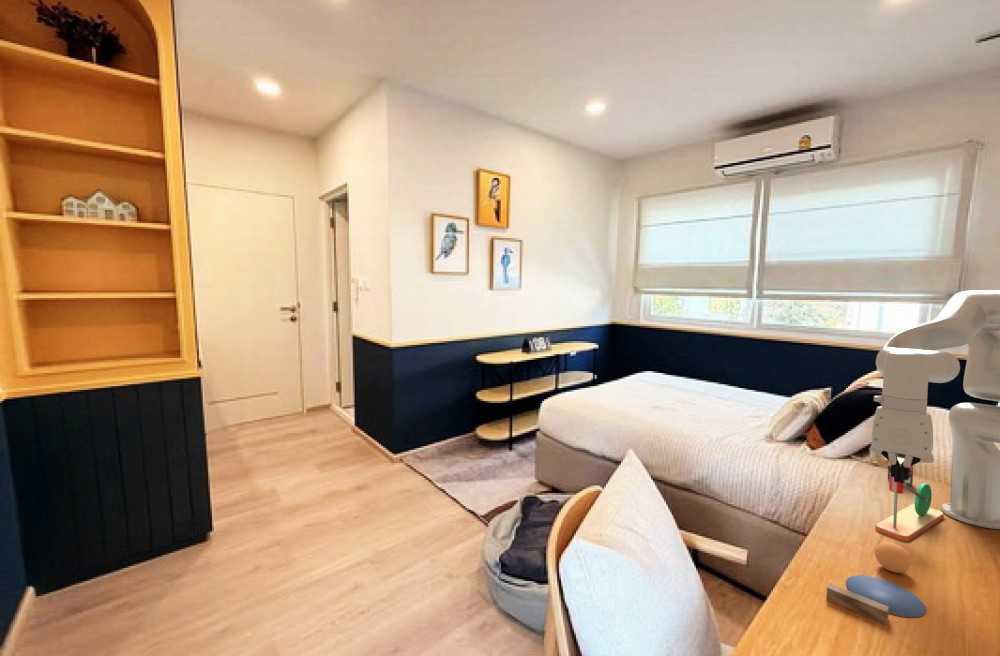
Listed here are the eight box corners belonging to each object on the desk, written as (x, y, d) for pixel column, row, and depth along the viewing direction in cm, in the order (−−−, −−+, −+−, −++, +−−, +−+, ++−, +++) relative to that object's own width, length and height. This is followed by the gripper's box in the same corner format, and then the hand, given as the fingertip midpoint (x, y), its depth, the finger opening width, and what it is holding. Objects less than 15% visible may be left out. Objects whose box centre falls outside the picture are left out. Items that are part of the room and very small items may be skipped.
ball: (899, 563, 95) (900, 538, 95) (918, 580, 89) (919, 554, 89) (868, 560, 97) (869, 535, 96) (884, 576, 91) (885, 550, 91)
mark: (900, 581, 89) (900, 580, 89) (942, 622, 78) (942, 621, 78) (834, 572, 93) (834, 571, 93) (865, 611, 81) (865, 610, 81)
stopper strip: (888, 619, 79) (888, 606, 79) (886, 624, 78) (887, 612, 77) (829, 594, 86) (829, 583, 86) (826, 599, 84) (826, 587, 84)
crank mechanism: (906, 542, 103) (909, 467, 102) (873, 530, 109) (875, 458, 108) (945, 517, 115) (948, 449, 114) (913, 507, 121) (916, 442, 120)
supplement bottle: (915, 488, 133) (916, 453, 132) (890, 484, 136) (891, 450, 135) (909, 481, 138) (910, 447, 137) (885, 477, 141) (886, 444, 140)
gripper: (858, 400, 100) (854, 475, 101) (949, 413, 89) (944, 497, 90) (864, 396, 105) (860, 468, 106) (951, 407, 94) (946, 487, 95)
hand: (899, 481), depth 98 cm, fingers closed
